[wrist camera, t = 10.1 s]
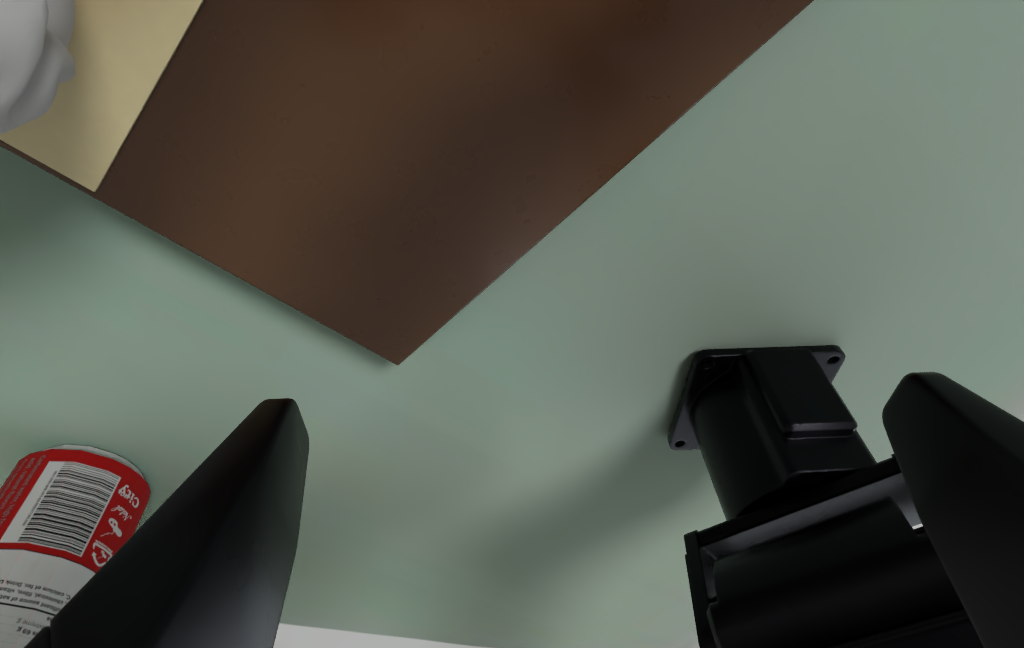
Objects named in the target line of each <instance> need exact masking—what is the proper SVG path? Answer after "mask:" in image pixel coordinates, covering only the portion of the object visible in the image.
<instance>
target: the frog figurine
mask: <svg viewBox="0 0 1024 648" xmlns="http://www.w3.org/2000/svg"><path fill="white" fill-rule="evenodd" d="M74 21H75V0H0V134H1V133H6V132H8V131H10V130H13V129H15V128H17V127H19V126H20V125H22V124H25V123H27V122H30V121H32V120H35V119H37V118H39V117H41V116H42V115H44V114H45V113H46V112H47V111H48V110H49V109H50V107H51V105H52V102H53V100H54V98H55V96H56V93H57V86H58V84H60V83H63V82H66V81H69V80H70V79H72V78H73V77H74V75H75V62H74V60H73V58H72V56H71V54H70V53H69V51H68V50H67V48H68V45H69V43H70V41H71V37H72V33H73V28H74Z"/></svg>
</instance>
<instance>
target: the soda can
mask: <svg viewBox="0 0 1024 648" xmlns="http://www.w3.org/2000/svg"><path fill="white" fill-rule="evenodd" d="M150 492H151V491H150V488H149V485H148V483H147V482H146V481H145V480H144V477H143V474H142V473H141V472H140V471H139V470H138V468H137V467H136V466H134V465H133V464H131V463H130V462H129V461H127V460H126V459H124V458H122V457H120V456H118V455H116V454H113V453H110V452H107V451H103V450H100V449H97V448H94V447H91V446H81V445H67V444H65V445H60V446H56V447H52V448H47V449H44V450H42V451H40V452H35V453H31V454H29V455H27V456H26V457H24V458H22V459H21V460H19V462H18V463H17V465H16V466H15V468H14V469H13V471H12V472H11V474H10V475H9V477H8V478H7V480H6V481H5V483H4V484H3V486H2V487H1V489H0V648H24V647H25V646H26V645H27V644H28V643H29V642H30V641H31V640H32V639H33V637H34V636H35V635H36V634H37V633H38V632H39V631H40V630H41V629H42V628H43V627H45V626H50V621H51V619H52V618H53V617H54V616H55V615H56V614H57V613H58V612H59V611H60V610H61V609H62V608H63V607H64V606H65V605H66V604H67V603H68V602H69V601H70V600H71V598H72V597H73V596H74V595H75V594H76V593H77V592H78V591H79V590H80V589H81V588H82V587H83V586H84V585H85V584H86V583H87V582H88V581H89V580H90V579H91V578H92V577H93V576H94V575H95V574H96V573H97V572H98V571H99V569H100V568H101V567H102V566H103V565H104V564H105V563H106V562H107V561H108V560H109V559H110V558H111V557H112V556H113V555H114V554H115V553H116V552H117V551H118V550H119V549H120V548H121V547H122V546H123V545H124V544H125V543H126V542H127V540H128V539H129V538H130V537H131V536H132V535H133V534H134V532H135V530H136V528H137V525H138V523H139V521H140V519H141V516H142V514H143V512H144V510H145V507H146V505H147V503H148V501H149V497H150Z"/></svg>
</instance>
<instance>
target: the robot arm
mask: <svg viewBox="0 0 1024 648" xmlns="http://www.w3.org/2000/svg"><path fill="white" fill-rule="evenodd" d="M844 360H845V354H844V352H843V351H842V350H841V348H840V347H839V346H835V345H826V346H796V347H766V348H736V349H707V350H702V351H700V352H698V353H697V354H696V355H695V356H694V358H693V360H692V363H691V367H690V370H689V373H688V376H687V379H686V382H685V385H684V388H683V391H682V395H681V398H680V401H679V404H678V407H677V410H676V413H675V416H674V420H673V423H672V426H671V429H670V432H669V435H668V442H669V445H670V447H671V449H674V450H690V449H700V450H701V453H702V455H703V458H704V461H705V464H706V466H707V469H708V472H709V474H710V477H711V480H712V482H713V485H714V488H715V491H716V493H717V496H718V499H719V501H720V504H721V507H722V509H723V512H724V515H725V518H726V520H727V521H725V522H723V523H720V524H717V525H715V526H712V527H710V528H707V529H704V530H702V531H699V532H698V531H697V530H695V531H693V532H690V533H687V534H685V535H684V540H685V546H686V553H687V554H686V555H685V559H686V565H687V572H688V578H689V584H690V591H691V597H692V604H693V610H694V616H695V623H696V629H697V635H698V642H699V647H700V648H1024V422H1023V421H1021V420H1019V419H1018V418H1016V417H1014V416H1013V415H1011V414H1009V413H1007V412H1006V411H1004V410H1002V409H1001V408H999V407H997V406H995V405H994V404H992V403H990V402H989V401H987V400H985V399H984V398H982V397H980V396H978V395H977V394H975V393H973V392H972V391H970V390H968V389H966V388H965V387H963V386H961V385H960V384H958V383H956V382H955V381H953V380H951V379H949V378H948V377H946V376H944V375H942V374H940V373H936V372H919V373H909V374H907V375H906V376H904V377H903V379H902V380H901V381H900V383H899V385H898V386H897V388H896V389H895V391H894V392H893V394H892V396H891V397H890V399H889V400H888V402H887V403H886V405H885V407H884V409H883V413H882V419H883V424H884V427H885V430H886V432H887V435H888V438H889V440H890V443H891V446H892V448H893V451H894V454H892V458H889V459H886V460H884V461H881V462H879V463H877V462H876V461H875V459H874V457H873V456H872V454H871V453H870V451H869V449H868V448H867V446H866V445H865V443H864V442H863V440H862V438H861V437H860V435H859V434H858V432H857V430H856V428H857V426H858V425H857V422H856V421H855V419H854V418H853V416H852V415H851V413H850V411H849V410H848V408H847V407H846V405H845V404H844V402H843V400H842V399H841V397H840V396H839V394H838V393H837V391H836V389H835V388H834V386H833V385H832V381H833V379H834V377H835V376H836V374H837V372H838V370H839V369H840V367H841V365H842V363H843V362H844ZM705 361H706V362H705ZM308 453H309V437H308V433H307V430H306V427H305V424H304V422H303V419H302V416H301V413H300V411H299V408H298V405H297V403H296V402H295V401H294V400H293V399H290V398H284V399H267V400H264V401H263V402H261V403H260V404H259V405H258V406H257V407H256V408H255V409H254V410H253V411H252V412H251V413H250V414H249V415H248V416H247V417H246V418H245V419H244V420H243V421H242V422H241V423H240V424H239V426H238V427H237V428H236V429H235V430H234V431H233V432H232V433H231V434H230V435H229V436H228V437H227V438H226V439H225V440H224V441H223V442H222V443H221V444H220V445H219V446H218V447H217V448H216V449H215V450H214V451H213V452H212V453H211V455H210V456H209V457H208V458H207V459H206V460H205V461H204V462H203V463H202V464H201V465H200V466H199V467H198V468H197V469H196V470H195V471H194V472H193V473H192V474H191V475H190V476H189V477H188V478H187V479H186V480H185V481H184V482H183V484H182V485H181V486H180V487H179V488H178V489H177V490H176V491H175V492H174V493H173V494H172V495H171V496H170V497H169V498H168V499H167V500H166V501H165V502H164V503H163V504H162V505H161V506H160V507H159V508H158V509H157V510H156V511H155V513H154V514H153V515H152V516H151V517H150V518H149V519H148V520H147V521H146V522H145V523H144V524H143V525H142V526H141V527H140V528H139V529H138V530H137V531H136V532H135V533H134V534H133V535H132V536H131V537H130V538H129V539H128V540H127V542H126V543H125V544H124V545H123V546H122V547H121V548H120V549H119V550H118V551H117V552H116V553H115V554H114V555H113V556H112V557H111V558H110V559H109V560H108V561H107V562H106V563H105V564H104V565H103V566H102V567H101V568H100V569H99V571H98V572H97V573H96V574H95V575H94V576H93V577H92V578H91V579H90V580H89V581H88V582H87V583H86V584H85V585H84V586H83V587H82V588H81V589H80V590H79V591H78V592H77V593H76V594H75V595H74V596H73V597H72V598H71V600H70V601H69V602H68V603H67V604H66V605H65V606H64V607H63V608H62V609H61V610H60V611H59V612H58V613H57V614H56V615H55V616H54V617H53V618H52V619H51V621H50V626H45V627H43V628H42V629H41V630H40V631H39V632H38V633H37V634H36V635H35V636H34V637H33V639H32V640H31V641H30V642H29V643H28V644H27V645H26V646H25V647H24V648H273V646H274V641H275V638H276V633H277V629H278V625H279V621H280V617H281V613H282V609H283V604H284V600H285V596H286V592H287V588H288V584H289V580H290V575H291V571H292V567H293V563H294V558H295V553H296V549H297V542H298V535H299V527H300V519H301V511H302V503H303V494H304V486H305V478H306V470H307V462H308ZM921 523H922V524H923V527H920V528H917V529H914V530H913V528H912V526H915V525H918V524H921Z"/></svg>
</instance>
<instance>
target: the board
mask: <svg viewBox="0 0 1024 648" xmlns="http://www.w3.org/2000/svg"><path fill="white" fill-rule="evenodd" d="M812 1H814V0H75V21H74V28H73V33H72V37H71V41H70V43H69V45H68V48H67V50H68V51H69V53H70V54H71V56H72V58H73V60H74V62H75V75H74V77H73V78H72V79H70V80H69V81H66V82H63V83H60V84H58V86H57V93H56V96H55V98H54V100H53V102H52V105H51V107H50V109H49V110H48V111H47V112H46V113H45V114H44V115H42V116H41V117H39V118H37V119H35V120H32V121H30V122H27V123H25V124H22V125H20V126H19V127H17V128H15V129H13V130H10V131H8V132H6V133H1V134H0V146H2V147H3V148H5V149H7V150H9V151H11V152H12V153H14V154H16V155H18V156H20V157H22V158H23V159H25V160H27V161H29V162H31V163H32V164H34V165H36V166H38V167H40V168H41V169H43V170H45V171H47V172H49V173H50V174H52V175H54V176H56V177H58V178H60V179H61V180H63V181H65V182H67V183H69V184H70V185H72V186H74V187H76V188H78V189H79V190H81V191H83V192H85V193H87V194H88V195H90V196H92V197H94V198H96V199H97V200H99V201H101V202H103V203H105V204H107V205H108V206H110V207H112V208H114V209H116V210H117V211H119V212H121V213H123V214H125V215H126V216H128V217H130V218H132V219H134V220H135V221H137V222H139V223H141V224H143V225H145V226H146V227H148V228H150V229H152V230H154V231H155V232H157V233H159V234H161V235H163V236H164V237H166V238H168V239H170V240H172V241H173V242H175V243H177V244H179V245H181V246H182V247H184V248H186V249H188V250H190V251H192V252H193V253H195V254H197V255H199V256H201V257H202V258H204V259H206V260H208V261H210V262H211V263H213V264H215V265H217V266H219V267H220V268H222V269H224V270H226V271H228V272H230V273H231V274H233V275H235V276H237V277H239V278H240V279H242V280H244V281H246V282H248V283H249V284H251V285H253V286H255V287H257V288H258V289H260V290H262V291H264V292H266V293H267V294H269V295H271V296H273V297H275V298H277V299H278V300H280V301H282V302H284V303H286V304H287V305H289V306H291V307H293V308H295V309H296V310H298V311H300V312H302V313H304V314H305V315H307V316H309V317H311V318H313V319H315V320H316V321H318V322H320V323H322V324H324V325H325V326H327V327H329V328H331V329H333V330H334V331H336V332H338V333H340V334H342V335H343V336H345V337H347V338H349V339H351V340H352V341H354V342H356V343H358V344H360V345H362V346H363V347H365V348H367V349H369V350H371V351H372V352H374V353H376V354H378V355H380V356H381V357H383V358H385V359H387V360H389V361H390V362H392V363H394V364H396V365H399V364H400V363H401V362H403V361H404V360H405V359H406V358H407V357H408V356H409V355H411V354H412V353H413V352H414V351H415V350H416V349H417V348H419V347H420V346H421V345H422V344H423V343H424V342H425V341H427V340H428V339H429V338H430V337H431V336H432V335H433V334H434V333H436V332H437V331H438V330H439V329H440V328H441V327H442V326H444V325H445V324H446V323H447V322H448V321H449V320H450V319H452V318H453V317H454V316H455V315H456V314H457V313H458V312H460V311H461V310H462V309H463V308H464V307H465V306H466V305H467V304H469V303H470V302H471V301H472V300H473V299H474V298H475V297H477V296H478V295H479V294H480V293H481V292H482V291H483V290H485V289H486V288H487V287H488V286H489V285H490V284H491V283H493V282H494V281H495V280H496V279H497V278H498V277H499V276H501V275H502V274H503V273H504V272H505V271H506V270H507V269H508V268H510V267H511V266H512V265H513V264H514V263H515V262H516V261H518V260H519V259H520V258H521V257H522V256H523V255H524V254H526V253H527V252H528V251H529V250H530V249H531V248H532V247H534V246H535V245H536V244H537V243H538V242H539V241H540V240H541V239H543V238H544V237H545V236H546V235H547V234H548V233H549V232H551V231H552V230H553V229H554V228H555V227H556V226H557V225H559V224H560V223H561V222H562V221H563V220H564V219H565V218H567V217H568V216H569V215H570V214H571V213H572V212H573V211H574V210H576V209H577V208H578V207H579V206H580V205H581V204H582V203H584V202H585V201H586V200H587V199H588V198H589V197H590V196H592V195H593V194H594V193H595V192H596V191H597V190H598V189H600V188H601V187H602V186H603V185H604V184H605V183H606V182H607V181H609V180H610V179H611V178H612V177H613V176H614V175H615V174H617V173H618V172H619V171H620V170H621V169H622V168H623V167H625V166H626V165H627V164H628V163H629V162H630V161H631V160H633V159H634V158H635V157H636V156H637V155H638V154H639V153H640V152H642V151H643V150H644V149H645V148H646V147H647V146H648V145H650V144H651V143H652V142H653V141H654V140H655V139H656V138H658V137H659V136H660V135H661V134H662V133H663V132H664V131H666V130H667V129H668V128H669V127H670V126H671V125H672V124H674V123H675V122H676V121H677V120H678V119H679V118H680V117H681V116H683V115H684V114H685V113H686V112H687V111H688V110H689V109H691V108H692V107H693V106H694V105H695V104H696V103H697V102H699V101H700V100H701V99H702V98H703V97H704V96H705V95H707V94H708V93H709V92H710V91H711V90H712V89H713V88H714V87H716V86H717V85H718V84H719V83H720V82H721V81H722V80H724V79H725V78H726V77H727V76H728V75H729V74H730V73H732V72H733V71H734V70H735V69H736V68H737V67H738V66H740V65H741V64H742V63H743V62H744V61H745V60H746V59H747V58H749V57H750V56H751V55H752V54H753V53H754V52H755V51H757V50H758V49H759V48H760V47H761V46H762V45H763V44H765V43H766V42H767V41H768V40H769V39H770V38H771V37H773V36H774V35H775V34H776V33H777V32H778V31H779V30H780V29H782V28H783V27H784V26H785V25H786V24H787V23H788V22H790V21H791V20H792V19H793V18H794V17H795V16H796V15H798V14H799V13H800V12H801V11H802V10H803V9H804V8H806V7H807V6H808V5H809V4H810V3H811V2H812Z"/></svg>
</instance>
